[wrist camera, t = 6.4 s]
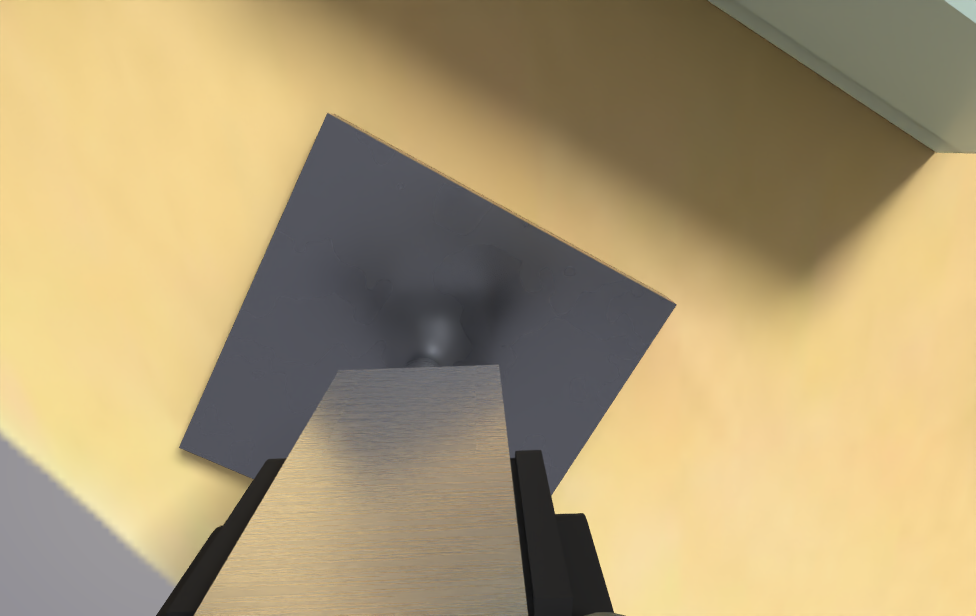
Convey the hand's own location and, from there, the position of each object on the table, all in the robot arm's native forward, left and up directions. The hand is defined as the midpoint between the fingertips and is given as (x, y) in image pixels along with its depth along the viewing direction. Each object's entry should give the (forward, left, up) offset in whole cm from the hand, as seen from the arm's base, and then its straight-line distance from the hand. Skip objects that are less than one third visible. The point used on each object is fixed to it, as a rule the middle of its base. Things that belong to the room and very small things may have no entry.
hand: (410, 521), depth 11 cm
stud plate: (0, 0, -8) cm, 8 cm away
